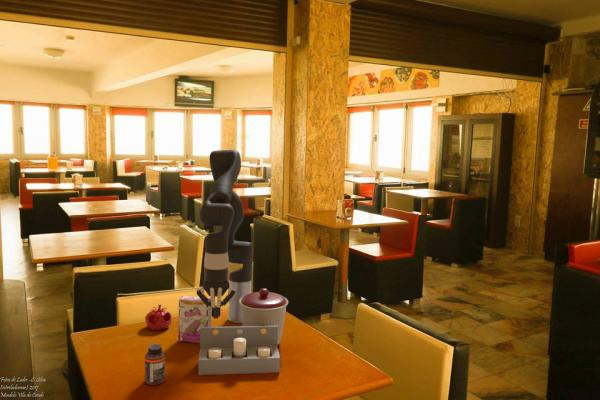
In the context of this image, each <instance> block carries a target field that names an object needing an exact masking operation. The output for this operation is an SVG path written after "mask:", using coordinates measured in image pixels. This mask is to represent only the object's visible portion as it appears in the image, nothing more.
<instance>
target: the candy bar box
mask: <svg viewBox="0 0 600 400" xmlns="http://www.w3.org/2000/svg"><path fill="white" fill-rule="evenodd" d="M207 298H208V299H209V301H211V297H207ZM211 310H212V308H211V306H206V305H205V303H204V302H203V301H202V300H201V299H200V297H199V296H193V295H182V296H181V297H180V298H179V299H178V339H177V340H178V342H180V343H190V344H192V343H193V344H200V331H201V327H212V315H211Z"/></svg>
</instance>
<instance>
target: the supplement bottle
mask: <svg viewBox="0 0 600 400" xmlns="http://www.w3.org/2000/svg"><path fill="white" fill-rule="evenodd" d="M165 379H166V353H165V352H164V351H163V348H162V344H159V343H152V344H150V345H149V346H148V347H147V352H146V353H145V354H144V382H145V383H146V384H147V385H150V386H157V385H160V384H162V383H163V382H164V381H165Z"/></svg>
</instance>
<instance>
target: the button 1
mask: <svg viewBox="0 0 600 400" xmlns="http://www.w3.org/2000/svg"><path fill="white" fill-rule="evenodd" d="M209 358H221V349H220V348H211V349H209Z"/></svg>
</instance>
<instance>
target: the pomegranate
mask: <svg viewBox="0 0 600 400" xmlns="http://www.w3.org/2000/svg"><path fill="white" fill-rule="evenodd" d="M161 308H162V304H158V308H157V307H156V306H153V307H152V308H151V309H150V310H149V312H148V313H147V314H146V315H145V317H144V318H145V319H144V320H145V325H146V326H147V328H149V329H150V330H152V331H161V330H166V329H167V328H169V327H170V325H171V324H172V313H171V312H170V311H168V310H165V309H168V307H163V308H162V309H161Z"/></svg>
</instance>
